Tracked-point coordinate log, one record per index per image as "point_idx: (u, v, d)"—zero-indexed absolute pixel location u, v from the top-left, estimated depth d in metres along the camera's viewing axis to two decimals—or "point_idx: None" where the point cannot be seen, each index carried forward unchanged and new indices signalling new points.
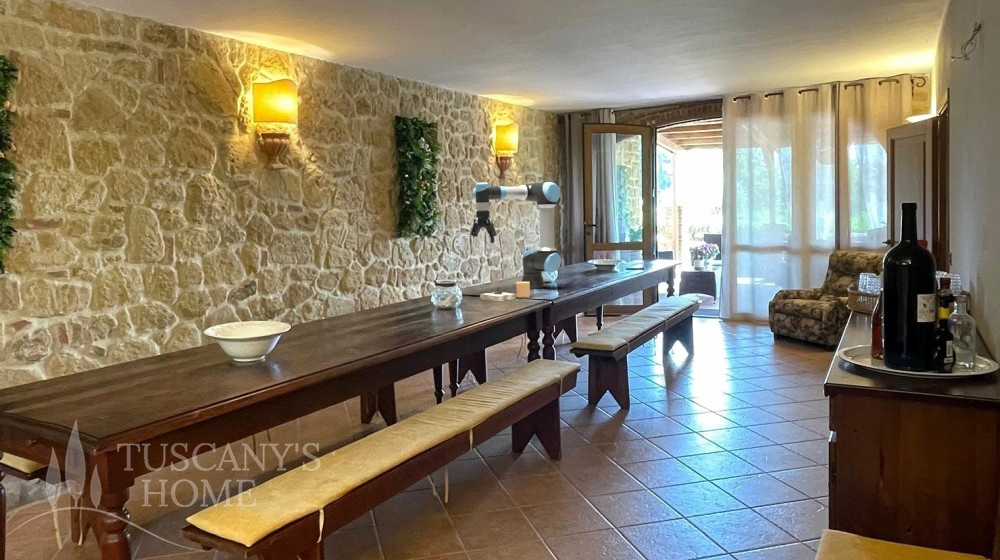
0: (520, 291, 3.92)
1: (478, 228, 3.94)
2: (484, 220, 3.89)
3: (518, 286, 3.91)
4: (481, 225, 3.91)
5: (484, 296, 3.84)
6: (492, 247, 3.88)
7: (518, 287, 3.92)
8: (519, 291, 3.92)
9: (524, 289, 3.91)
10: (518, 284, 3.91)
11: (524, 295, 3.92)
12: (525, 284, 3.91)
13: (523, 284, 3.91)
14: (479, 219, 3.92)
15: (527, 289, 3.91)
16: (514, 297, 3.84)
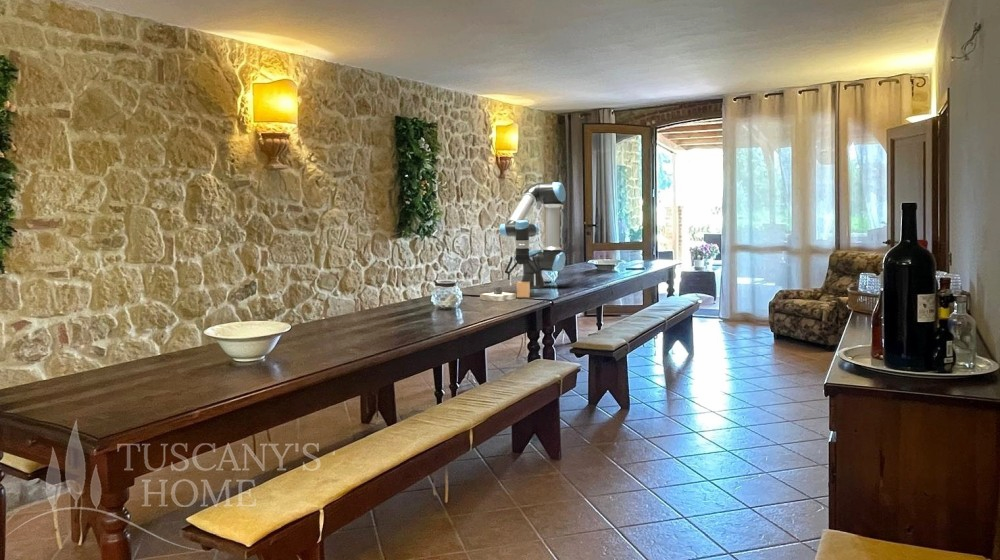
0: (520, 291, 3.92)
1: (516, 265, 3.93)
2: (527, 257, 3.92)
3: (518, 286, 3.91)
4: (522, 262, 3.92)
5: (484, 296, 3.84)
6: (535, 284, 3.94)
7: (518, 287, 3.92)
8: (519, 291, 3.92)
9: (524, 289, 3.91)
10: (518, 284, 3.91)
11: (524, 295, 3.92)
12: (525, 284, 3.91)
13: (523, 284, 3.91)
14: (519, 256, 3.92)
15: (527, 289, 3.91)
16: (514, 297, 3.84)
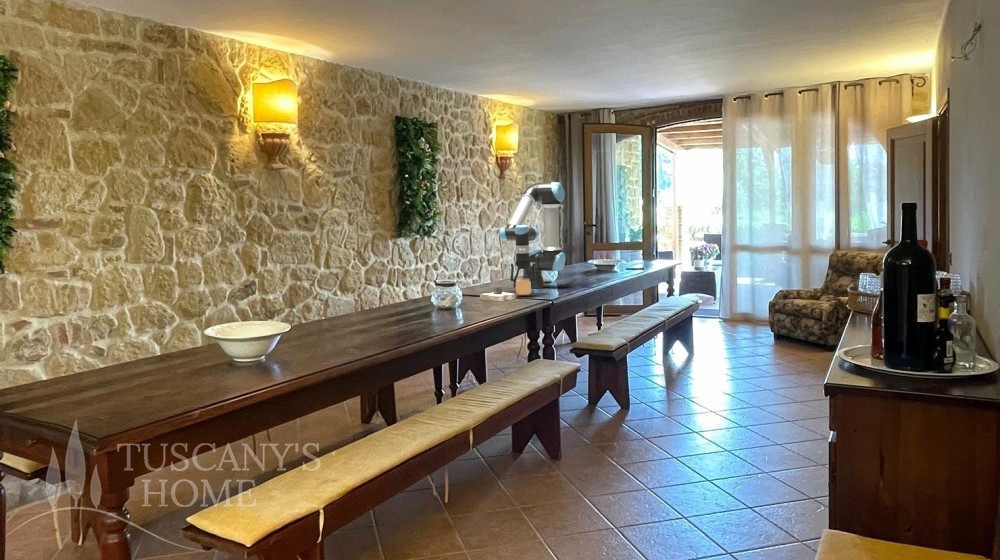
0: (520, 288, 3.92)
1: (518, 271, 3.94)
2: (527, 262, 3.92)
3: (518, 283, 3.92)
4: (522, 267, 3.93)
5: (484, 296, 3.84)
6: None
7: (518, 284, 3.92)
8: (519, 288, 3.92)
9: (524, 286, 3.92)
10: (518, 281, 3.92)
11: (524, 292, 3.92)
12: (525, 281, 3.91)
13: (523, 281, 3.91)
14: (518, 261, 3.92)
15: (527, 286, 3.92)
16: (514, 297, 3.84)
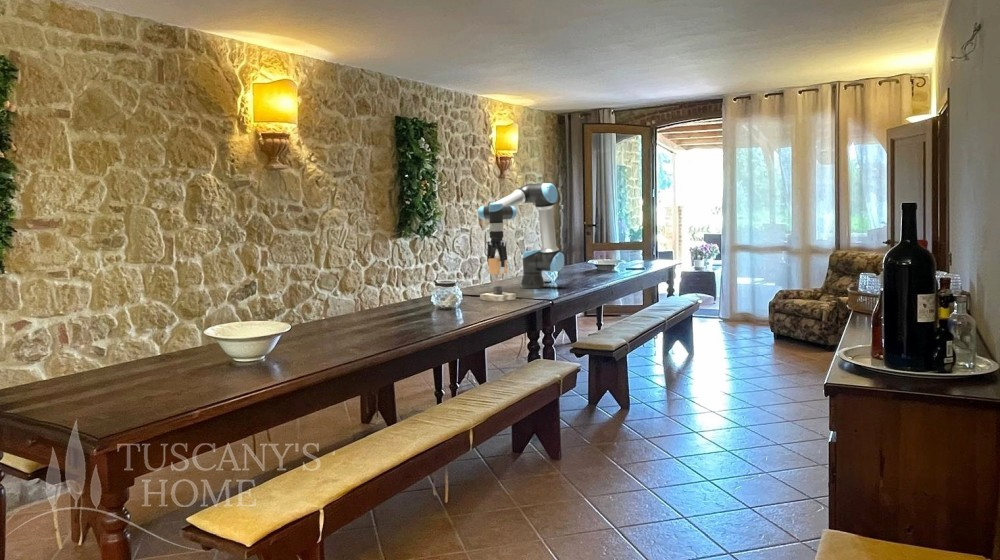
0: (491, 267, 3.83)
1: (493, 250, 3.84)
2: (498, 241, 3.80)
3: (489, 262, 3.84)
4: (495, 246, 3.82)
5: (484, 296, 3.84)
6: (503, 271, 3.81)
7: (489, 262, 3.84)
8: (490, 267, 3.83)
9: (493, 265, 3.81)
10: (489, 260, 3.83)
11: (493, 271, 3.82)
12: (494, 260, 3.80)
13: (492, 260, 3.81)
14: (492, 239, 3.83)
15: (495, 265, 3.80)
16: (514, 297, 3.84)
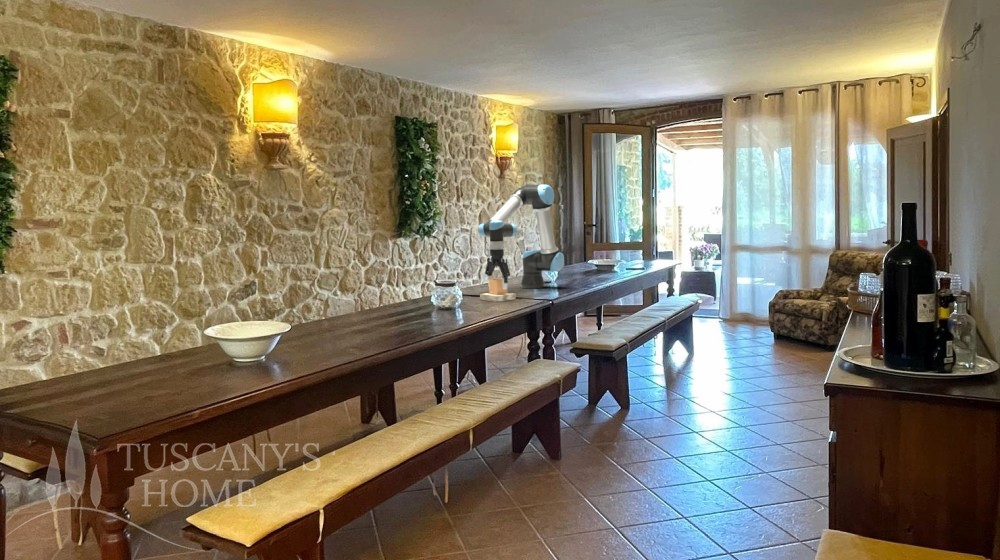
0: (491, 288, 3.84)
1: (492, 267, 3.86)
2: (498, 259, 3.81)
3: (490, 283, 3.85)
4: (495, 264, 3.83)
5: (484, 296, 3.84)
6: (506, 287, 3.81)
7: (490, 283, 3.85)
8: (490, 288, 3.85)
9: (494, 286, 3.82)
10: (490, 281, 3.85)
11: (494, 292, 3.83)
12: (494, 281, 3.82)
13: (493, 281, 3.83)
14: (493, 257, 3.84)
15: (496, 286, 3.81)
16: (514, 297, 3.84)
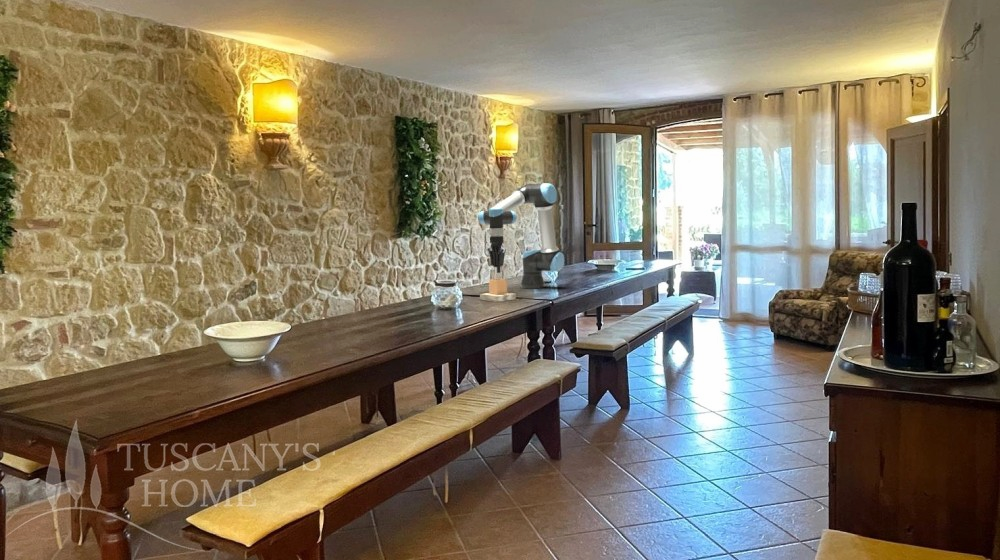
0: (491, 288, 3.84)
1: (495, 255, 3.84)
2: (498, 246, 3.80)
3: (490, 283, 3.85)
4: None
5: (484, 296, 3.84)
6: (498, 277, 3.84)
7: (490, 283, 3.85)
8: (490, 288, 3.85)
9: (494, 286, 3.82)
10: (490, 281, 3.85)
11: (494, 292, 3.83)
12: (494, 281, 3.82)
13: (493, 281, 3.83)
14: (492, 243, 3.84)
15: (496, 286, 3.81)
16: (514, 297, 3.84)
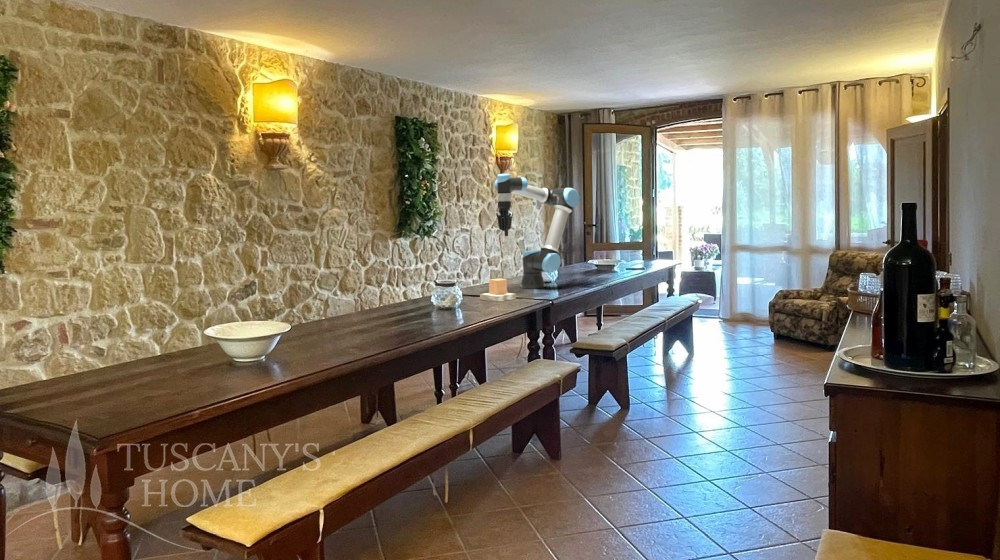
0: (491, 288, 3.84)
1: (503, 219, 4.04)
2: (505, 210, 4.00)
3: (490, 283, 3.85)
4: (502, 215, 4.03)
5: (484, 296, 3.84)
6: (506, 240, 4.04)
7: (490, 283, 3.85)
8: (490, 288, 3.85)
9: (494, 286, 3.82)
10: (490, 281, 3.85)
11: (494, 292, 3.83)
12: (494, 281, 3.82)
13: (493, 281, 3.83)
14: (500, 208, 4.04)
15: (496, 286, 3.81)
16: (514, 297, 3.84)
